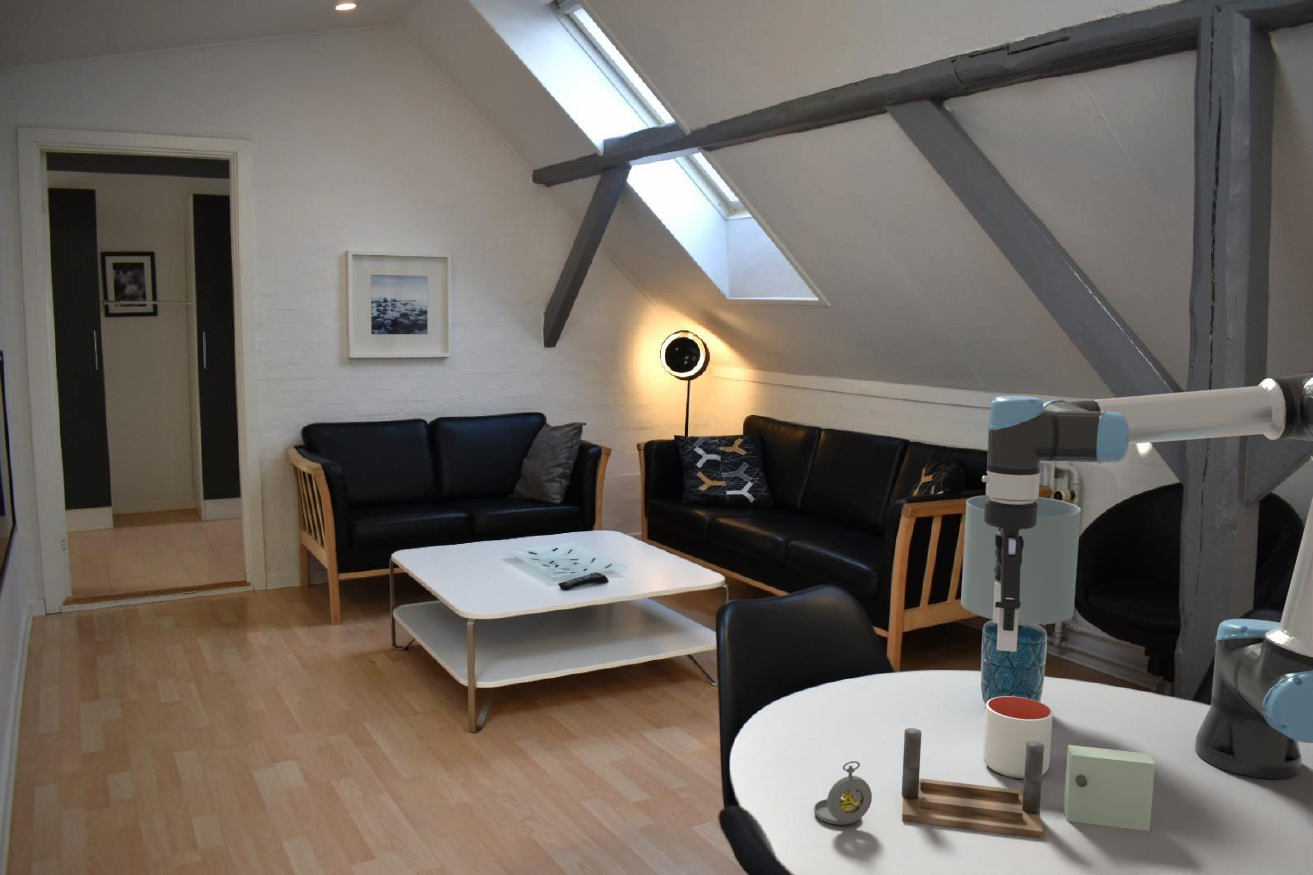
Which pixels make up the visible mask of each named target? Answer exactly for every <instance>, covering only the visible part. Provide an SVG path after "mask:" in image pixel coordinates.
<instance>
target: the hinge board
mask: <svg viewBox="0 0 1313 875" xmlns="http://www.w3.org/2000/svg"><path fill="white" fill-rule="evenodd" d="M903 736H904V738H903V739H904V740H903V756H902V757H903V758H902V776H901V777H902V780H901V782H902V783H901V796H902V807H901V809H902V815H901V816H902V817H901V821H902V822H909V823H910V822H911V823H917V824H918V823H919V824H928V825H934V826H942V827H951V828H958V829H965V830H974V831H975V830H976V831H982V832H991V833H998V834H1006V835H1012V836H1013V835H1015V836H1022V837H1031V838H1037V839H1043V836H1044V834H1043V833H1044V831H1043V826H1042V822H1041V817H1040V811H1041V798H1042V797H1041V796H1042V795H1041V794H1042V783H1043V782H1042V780H1043V775H1042V769H1043V754H1044V745H1043V744H1042V743H1040V742H1037V741H1028V742H1027V743H1026V756H1025V771H1024V779H1023V788H1022V790H1023V791H1022V790H1018V789H1013V788H1007V787H1006V788H1005V787H998V786H989V785H979V784H973V783H972V784H971V783H964V782H963V783H962V782H954V781H946V780H938V779H937V780H935V779H928V778H920V767H921V766H920V765H921V751H922V750H921V746H922V730H920V729H918V728H913V727H910V728H905V729H904V735H903Z"/></svg>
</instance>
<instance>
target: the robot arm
mask: <svg viewBox="0 0 1313 875" xmlns="http://www.w3.org/2000/svg"><path fill="white" fill-rule="evenodd" d="M989 409H990V411H989V418H988V419H989V420H988V425H987V429H988V432H987V433H988V434H987V439H988V440H987V458H986V459H987V462H986V474H987V475H983V476H982V477H981V481H982V483H986V484H985V495H987V496H988V497H990V498H988V499H987V500H986V501H985V512H984V521H985V523H986V524H988V525H990V526H993V527H998V528H999V531H998V535H996V534H995V546H996V548H995V554H996V568H995V570H994V571H995V579H996V580H997V581H999V582H995V590H994V610H993V619H992V620H993V623H998V634H997V650H1002V651H1013V652H1016V649H1017V631H1018V613H1019V607H1020V605H1021V603H1020V567H1021V564H1022V551H1023V548H1024V540H1022V536H1019V530H1020V529H1029V528H1033V527H1034V526H1035V525H1036V523H1037V507H1038V504H1036V502H1035V501H1034V500H1036V499H1037V498H1038V497H1040V496H1039V494H1040V479H1041V478H1040V477H1041V476H1040V475H1041V473H1040V472H1041V471H1040V467H1041V462H1042V461H1043V462H1053V461H1054V462H1073V463H1074V462H1075V463H1076V462H1077V463H1097V464H1099V465H1100V464H1102V463H1118V462H1121V461H1123V459H1124V458H1125V457H1126V455H1127V453H1128V450H1129V445H1135V444H1148V443H1159V442H1163V443H1164V442H1175V441H1186V440H1199V439H1202V440H1203V439H1214V438H1227V437H1239V436H1240V437H1242V436H1252V435H1264V436H1265V437H1266V438H1267V439H1268V440H1271V441H1272V440H1273V441H1274V440H1275V441H1276V440H1288V439H1289V440H1291V439H1292V440H1302V441H1307V442H1313V372H1309V373H1302V374H1297V375H1288V376H1280V377H1271V378H1265V379H1263V380H1262V381H1260V383H1259V384H1258V385H1254V386H1239V387H1230V388H1229V387H1228V388H1220V389H1219V388H1218V389H1217V388H1216V389H1207V390H1205V389H1204V390H1197V391H1195V390H1194V391H1183V392H1182V391H1181V392H1170V393H1160V394H1159V393H1158V394H1157V393H1156V394H1147V395H1137V396H1135V395H1133V396H1123V397H1121V396H1120V397H1111V398H1099V399H1093V400H1088V399H1087V400H1077V401H1075V400H1074V401H1067V400H1063V399H1058V400H1049V401H1046V402H1044V401H1043V399H1042V398H1040V397H1036V396H1031V395H1030V396H1028V395H1027V396H1026V395H1025V396H1024V395H1002V396H1001V395H1000V396H996V397H995V398H994V399H993V400H992V401H991V404H990V408H989ZM1310 459H1311V461H1312V462H1313V449H1312V450H1311V453H1310ZM1309 506H1310V507H1309V510H1308V514H1307V517H1306V522H1305V526H1304V530H1303V534H1302V536H1301V537H1302V538H1301V541H1300V546H1299V549H1298V553H1297V557H1296V562H1295V565H1294V569H1293V573H1292V577H1291V581H1290V583H1289V584H1290V585H1289V588H1288V591H1287V595H1286V600H1285V604H1284V607H1283V610H1282V616H1281V619H1280V622H1277V621H1272V620H1271V621H1270V620H1263V619H1262V620H1261V619H1251V618H1249V619H1248V618H1233V619H1232V618H1231V619H1225V620H1223V621H1222V622H1220V623H1219V625H1218V629H1217V633H1216V637H1215V640H1214V642H1215V650H1214V663H1213V664H1214V665H1213V675H1212V676H1213V677H1212V689H1211V702H1210V707H1209V709H1208V711H1207V713H1206V715H1205V717H1204V719H1203V720H1202V723H1201V725H1200V727H1199V728H1198V729H1199V730H1197V734H1196V736H1195V744H1194V750H1195V752H1196V754H1197V756H1199V757H1200V758H1201V759H1202V760H1204V761H1205V762H1207V763H1209V764H1211V765H1213V766H1214V767H1217V768H1220V769H1222V770H1224V771H1227V772H1230V773H1234V774H1238V775H1242V776H1247V777H1252V778H1257V779H1258V778H1259V779H1270V780H1271V779H1272V780H1274V779H1276V780H1280V779H1286V778H1291V777H1295V776H1297V775H1298V774H1299V773H1300V772H1301V767H1302V753H1301V749H1300V745H1299V742H1300V743H1305V744H1313V497H1312V499H1311V502H1310V505H1309ZM1012 598H1013V599H1014V600H1013V599H1012Z"/></svg>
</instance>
